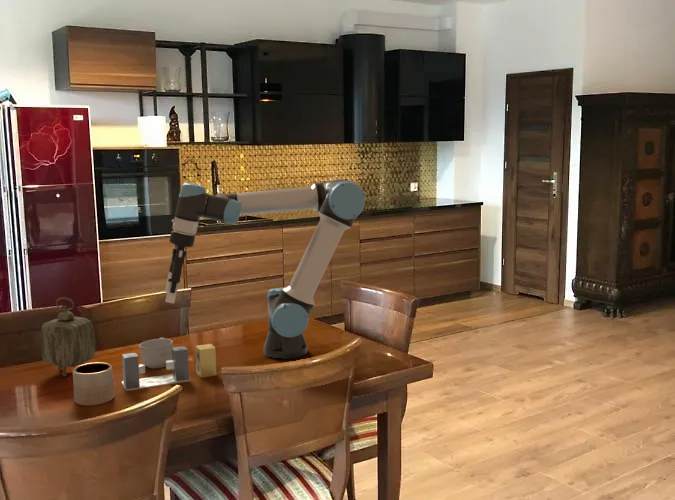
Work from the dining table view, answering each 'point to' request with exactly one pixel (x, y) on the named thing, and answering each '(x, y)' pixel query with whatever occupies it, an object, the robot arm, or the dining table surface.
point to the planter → (93, 383)
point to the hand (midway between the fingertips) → (169, 297)
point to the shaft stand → (134, 369)
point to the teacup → (156, 352)
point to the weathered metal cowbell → (67, 340)
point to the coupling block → (206, 360)
